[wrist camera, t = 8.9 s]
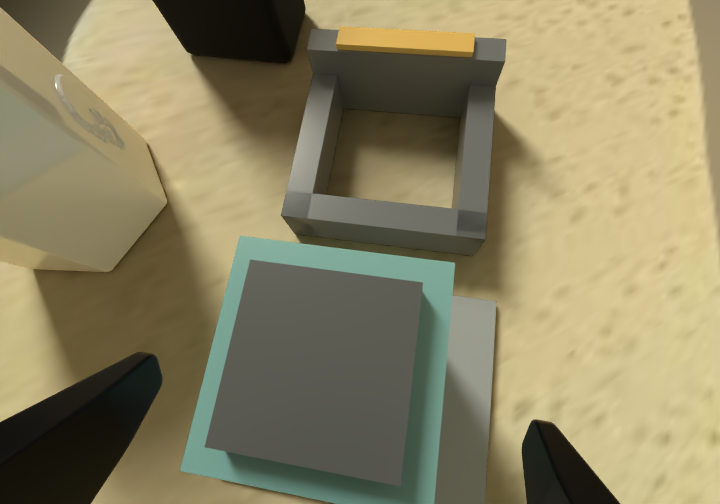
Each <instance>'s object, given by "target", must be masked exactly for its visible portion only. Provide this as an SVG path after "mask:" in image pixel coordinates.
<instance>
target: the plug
mask: <svg viewBox="0 0 720 504" xmlns="http://www.w3.org/2000/svg"><path fill="white" fill-rule="evenodd" d="M454 272H455V263H453V262H445V261H437V260H429V259H421V258H413V257H405V256H397V255H389V254H381V253H373V252H365V251H357V250H349V249H341V248H333V247H325V246H317V245H309V244H301V243H293V242H285V241H278V240H270V239H262V238H254V237H246V236H240V237H239V241H238V245H237V249H236V253H235V257H234V261H233V265H232V269H231V272H230V276H229V280H228V284H227V288H226V292H225V296H224V300H223V304H222V308H221V312H220V316H219V319H218V323H217V327H216V331H215V335H214V339H213V343H212V347H211V351H210V355H209V359H208V363H207V367H206V370H205V374H204V378H203V382H202V386H201V390H200V394H199V398H198V402H197V406H196V410H195V414H194V417H193V421H192V425H191V429H190V433H189V437H188V441H187V445H186V449H185V453H184V457H183V461H182V464H181V468H180V471H183V472H188V473H192V474H197V475H202V476H207V477H211V478H216V479H221V480H226V481H230V482H235V483H240V484H245V485H249V486H254V487H259V488H264V489H268V490H273V491H278V492H283V493H287V494H292V495H297V496H302V497H306V498H311V499H316V500H321V501H325V502H330V503H335V504H434V499H435V488H436V476H437V465H438V454H439V442H440V431H441V419H442V408H443V397H444V385H445V374H446V363H447V351H448V340H449V328H450V317H451V306H452V294H453V283H454Z"/></svg>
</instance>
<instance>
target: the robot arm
mask: <svg viewBox="0 0 720 504" xmlns="http://www.w3.org/2000/svg"><path fill="white" fill-rule="evenodd" d="M161 385H162V374H161V370H160V366H159V363H158V359H157V357H156V356H155V355H154V354H150V353H144V352H138V353H135V354H133V355H131V356H129V357H127V358H125V359H123V360H121V361H119V362H117V363H115V364H113V365H111V366H110V367H108V368H106V369H104V370H102V371H100V372H98V373H96V374H94V375H92V376H90V377H88V378H86V379H84V380H82V381H80V382H78V383H76V384H74V385H72V386H70V387H68V388H66V389H64V390H62V391H60V392H58V393H57V394H55V395H53V396H51V397H49V398H47V399H45V400H43V401H41V402H39V403H37V404H35V405H33V406H31V407H29V408H27V409H25V410H23V411H21V412H19V413H17V414H15V415H13V416H11V417H9V418H7V419H5V420H3V421H2V422H0V504H91V502H92V501H93V499H94V498H95V496H96V495H97V493H98V492H99V490H100V489H101V487H102V486H103V484H104V483H105V481H106V480H107V478H108V477H109V475H110V474H111V472H112V471H113V469H114V468H115V466H116V465H117V463H118V462H119V460H120V459H121V457H122V456H123V454H124V453H125V451H126V449H127V448H128V446H129V444H130V443H131V441H132V439H133V438H134V436H135V434H136V432H137V430H138V428H139V427H140V425H141V423H142V421H143V419H144V417H145V415H146V414H147V412H148V410H149V408H150V406H151V404H152V402H153V401H154V399H155V397H156V395H157V393H158V391H159V390H160V387H161ZM522 460H523V469H524V479H525V488H526V498H527V504H620V503H619V501H618V500H617V499H616V498H615V497H614V495H613V494H612V493H611V492H610V491H609V489H608V488H607V487H606V486H605V485H604V483H603V482H602V481H601V480H600V478H599V477H598V476H597V475H596V474H595V472H594V471H593V470H592V469H591V468H590V466H589V465H588V464H587V463H586V462H585V460H584V459H583V458H582V457H581V456H580V454H579V453H578V452H577V451H576V449H575V448H574V447H573V446H572V445H571V443H570V442H569V441H568V440H567V439H566V437H565V436H564V435H563V434H562V433H561V431H560V430H559V429H558V428H557V427H556V425H554V424H553V423H552V422H548V421H542V420H536V419H535V420H533V421H531V423H530V425H529V428H528V430H527V433H526V435H525V438H524V440H523V443H522Z"/></svg>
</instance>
